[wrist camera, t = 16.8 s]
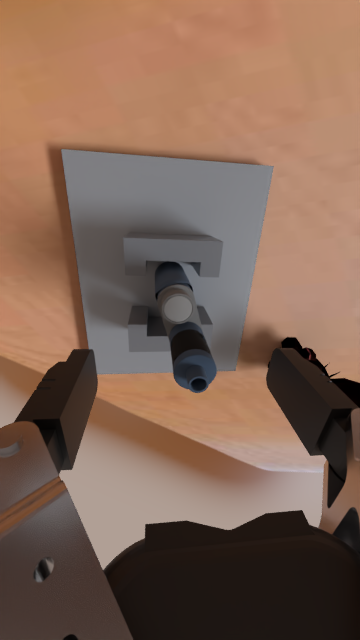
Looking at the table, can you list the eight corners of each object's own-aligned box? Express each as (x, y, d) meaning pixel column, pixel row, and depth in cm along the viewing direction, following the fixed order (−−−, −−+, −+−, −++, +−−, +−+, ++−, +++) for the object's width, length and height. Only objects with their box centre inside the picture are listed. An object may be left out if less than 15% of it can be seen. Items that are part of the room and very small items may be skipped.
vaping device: (167, 315, 23) (179, 409, 12) (151, 263, 21) (149, 322, 10) (192, 308, 23) (227, 396, 12) (179, 255, 20) (208, 306, 10)
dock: (66, 152, 18) (35, 132, 13) (266, 168, 19) (303, 155, 15) (95, 367, 26) (82, 402, 21) (232, 364, 28) (248, 395, 23)
